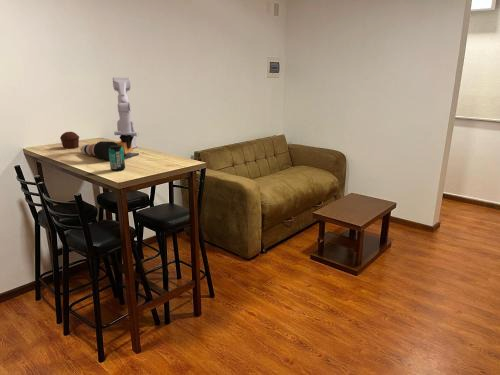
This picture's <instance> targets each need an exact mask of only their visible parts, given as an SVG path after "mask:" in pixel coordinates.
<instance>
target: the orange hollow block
mask: <svg viewBox="0 0 500 375" xmlns="http://www.w3.org/2000/svg"><path fill="white" fill-rule="evenodd" d="M114 142H115V143H117V144H118V145H121V146H122V148H123V150H124V154H126V153H129V152H131V153H133V152H134V150H133V149H134V148H132V143H131V148H129V149H128V148H127V142H124V143H123V142H122V141H121V140H118V141H114Z"/></svg>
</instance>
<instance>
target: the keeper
mask: <svg viewBox="0 0 500 375" xmlns="http://www.w3.org/2000/svg"><path fill="white" fill-rule="evenodd" d="M136 156H139V152H129V153H126V154H124V160H128V159H131V158H134V157H136Z"/></svg>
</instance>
